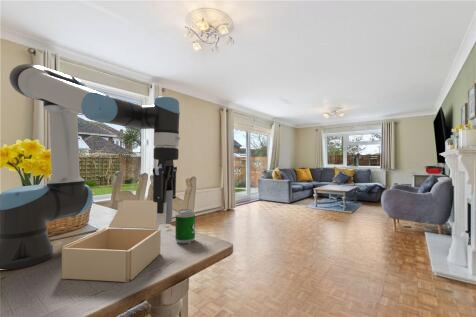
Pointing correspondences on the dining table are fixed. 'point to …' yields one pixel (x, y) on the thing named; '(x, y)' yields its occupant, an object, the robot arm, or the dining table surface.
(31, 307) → the dining table surface
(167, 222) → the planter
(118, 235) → the carton
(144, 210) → the flap
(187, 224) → the soda can
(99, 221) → the dining table surface
